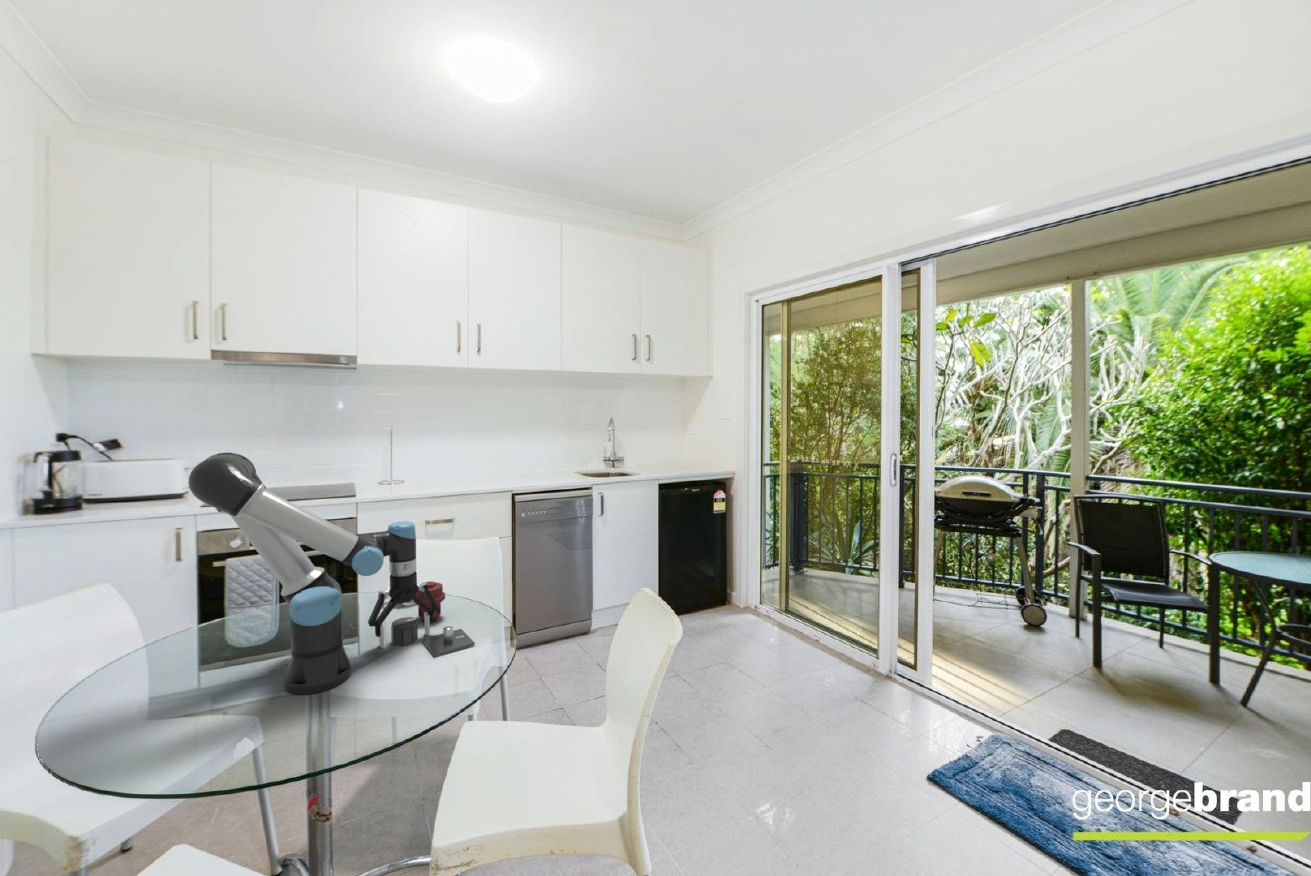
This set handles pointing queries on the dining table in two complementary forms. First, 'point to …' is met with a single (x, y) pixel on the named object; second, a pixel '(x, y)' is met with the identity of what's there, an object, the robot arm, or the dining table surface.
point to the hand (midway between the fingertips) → (405, 639)
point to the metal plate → (447, 641)
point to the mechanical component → (436, 594)
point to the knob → (404, 631)
